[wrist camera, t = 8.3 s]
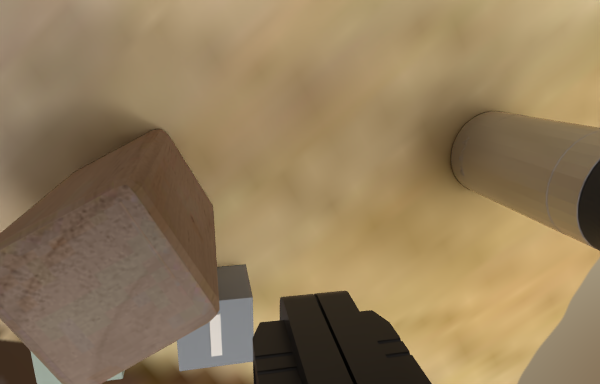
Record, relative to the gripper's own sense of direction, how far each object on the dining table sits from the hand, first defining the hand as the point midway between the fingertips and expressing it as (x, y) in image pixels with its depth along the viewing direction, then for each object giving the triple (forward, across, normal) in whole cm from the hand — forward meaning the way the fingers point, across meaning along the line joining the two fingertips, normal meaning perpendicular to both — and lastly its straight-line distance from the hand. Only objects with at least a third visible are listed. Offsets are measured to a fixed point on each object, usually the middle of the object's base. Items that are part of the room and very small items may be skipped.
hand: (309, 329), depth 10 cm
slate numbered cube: (+34, +3, +18) cm, 39 cm away
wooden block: (+34, +9, +6) cm, 36 cm away
